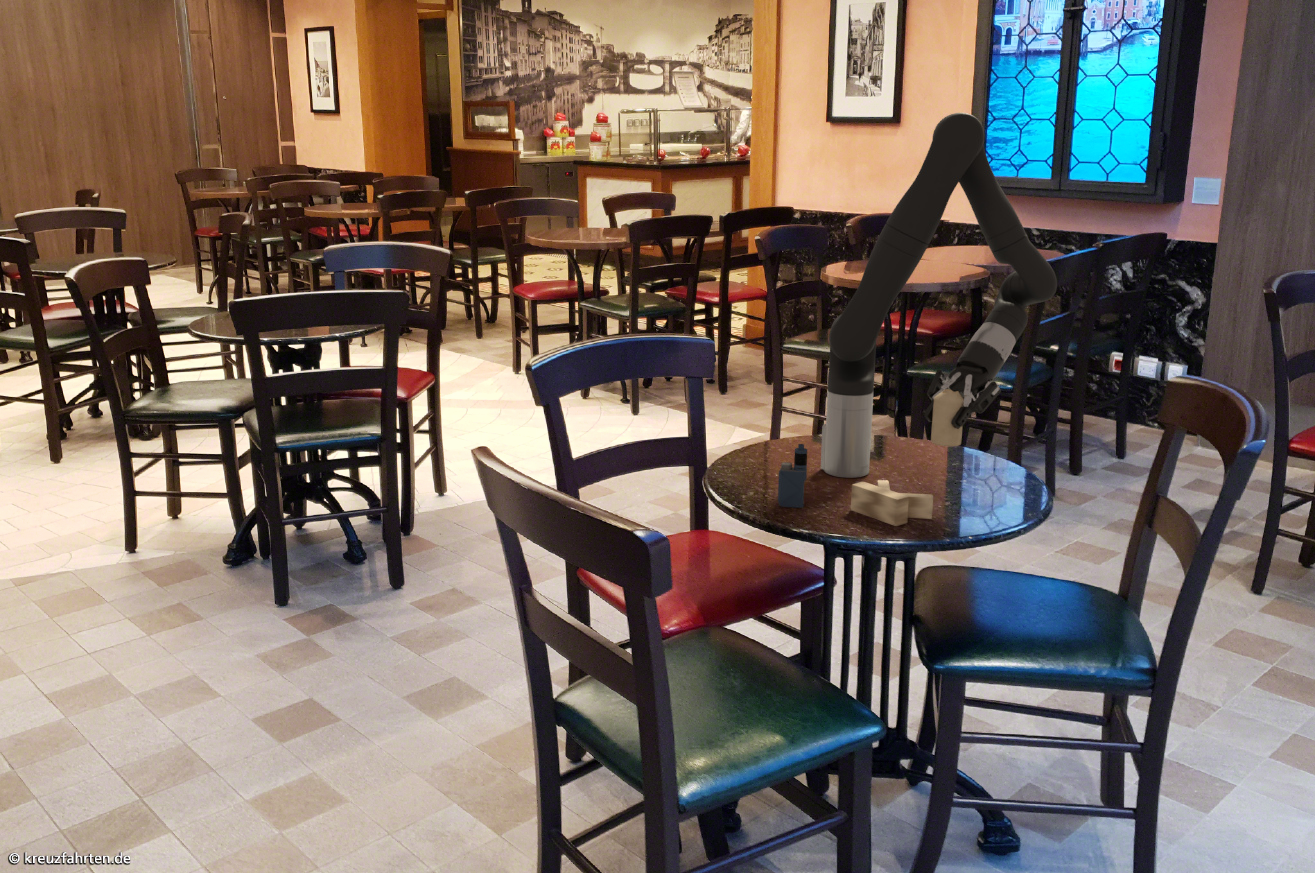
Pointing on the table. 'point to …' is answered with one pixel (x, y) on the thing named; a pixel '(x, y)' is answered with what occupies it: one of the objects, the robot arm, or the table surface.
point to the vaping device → (793, 480)
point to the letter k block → (889, 503)
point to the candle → (946, 418)
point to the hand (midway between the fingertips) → (941, 422)
